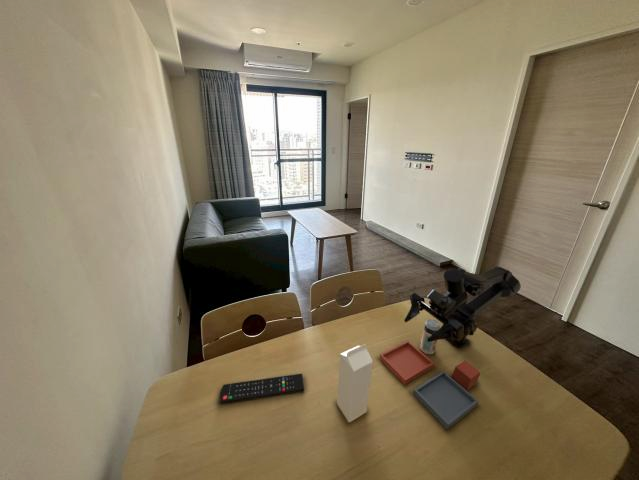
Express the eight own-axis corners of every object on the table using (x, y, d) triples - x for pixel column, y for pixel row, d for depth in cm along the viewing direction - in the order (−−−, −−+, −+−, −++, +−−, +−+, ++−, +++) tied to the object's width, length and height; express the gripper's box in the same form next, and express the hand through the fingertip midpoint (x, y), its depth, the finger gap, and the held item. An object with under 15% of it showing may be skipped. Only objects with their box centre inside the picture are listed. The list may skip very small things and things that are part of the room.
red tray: (407, 344, 92) (407, 340, 91) (433, 367, 83) (434, 363, 82) (379, 358, 86) (380, 354, 85) (404, 385, 77) (405, 380, 76)
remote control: (304, 392, 74) (304, 388, 74) (218, 405, 70) (218, 402, 70) (302, 376, 79) (302, 373, 78) (222, 388, 75) (221, 384, 74)
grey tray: (442, 375, 80) (443, 370, 79) (476, 405, 71) (478, 401, 70) (413, 394, 74) (414, 389, 73) (447, 430, 65) (448, 425, 64)
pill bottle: (431, 345, 92) (437, 318, 87) (436, 355, 87) (442, 328, 83) (418, 344, 92) (423, 317, 88) (421, 354, 88) (427, 327, 83)
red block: (461, 371, 82) (465, 360, 80) (476, 383, 77) (480, 372, 76) (451, 377, 79) (455, 366, 77) (466, 390, 75) (471, 379, 73)
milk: (366, 412, 69) (375, 352, 61) (348, 423, 66) (355, 362, 58) (353, 393, 74) (359, 335, 65) (336, 403, 71) (340, 344, 63)
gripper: (424, 271, 85) (390, 297, 82) (478, 302, 71) (438, 337, 67) (428, 292, 92) (396, 317, 88) (477, 325, 77) (441, 357, 73)
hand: (415, 330), depth 79 cm, fingers open, 9 cm apart
